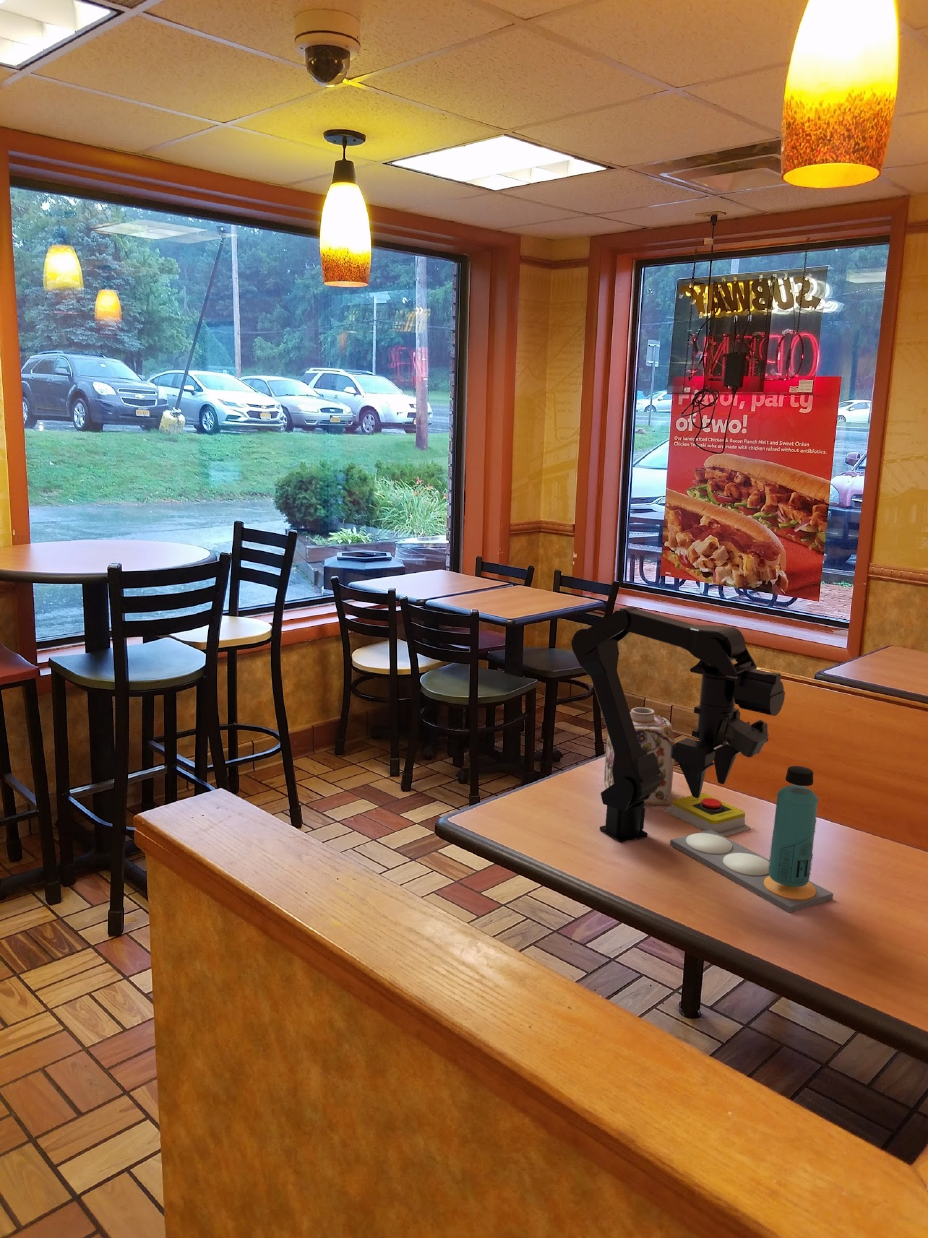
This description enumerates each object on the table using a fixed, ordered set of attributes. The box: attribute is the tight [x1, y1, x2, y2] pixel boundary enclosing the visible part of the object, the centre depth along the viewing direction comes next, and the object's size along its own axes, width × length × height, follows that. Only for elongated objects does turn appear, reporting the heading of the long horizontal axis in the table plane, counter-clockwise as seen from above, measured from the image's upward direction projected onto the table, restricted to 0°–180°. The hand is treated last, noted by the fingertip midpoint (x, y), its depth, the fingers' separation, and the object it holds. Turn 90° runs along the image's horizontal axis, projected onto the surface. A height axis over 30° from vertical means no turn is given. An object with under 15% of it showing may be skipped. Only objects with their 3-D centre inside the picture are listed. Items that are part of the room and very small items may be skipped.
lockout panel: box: [669, 830, 834, 914], centre depth 159 cm, size 10×27×1 cm, turn 30°
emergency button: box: [662, 792, 751, 837], centre depth 180 cm, size 9×4×15 cm
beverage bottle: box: [768, 765, 819, 887], centre depth 150 cm, size 6×7×20 cm
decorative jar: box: [603, 706, 676, 806], centre depth 190 cm, size 12×12×18 cm
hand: (708, 790), depth 160 cm, fingers open, 9 cm apart
